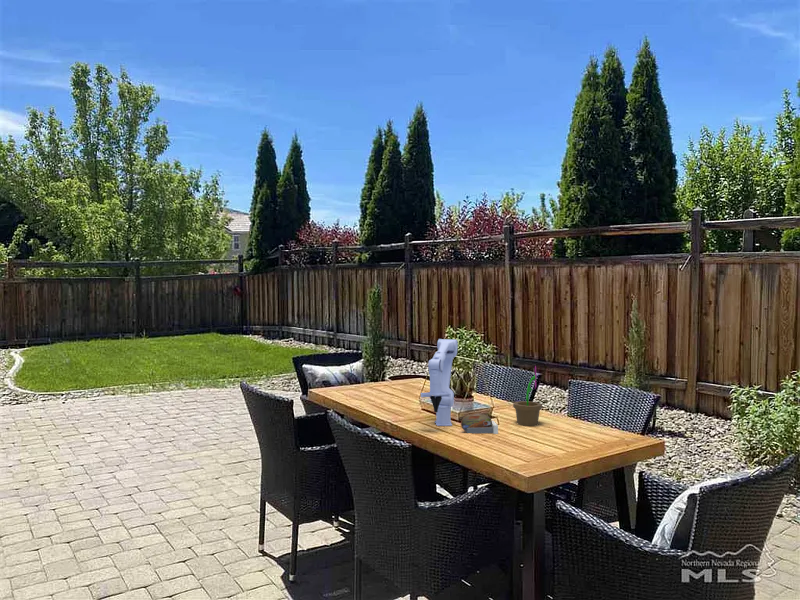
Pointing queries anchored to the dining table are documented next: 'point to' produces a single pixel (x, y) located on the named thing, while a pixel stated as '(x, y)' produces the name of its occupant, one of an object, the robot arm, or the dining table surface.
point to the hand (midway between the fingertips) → (435, 411)
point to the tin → (475, 421)
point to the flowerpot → (528, 409)
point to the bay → (484, 429)
